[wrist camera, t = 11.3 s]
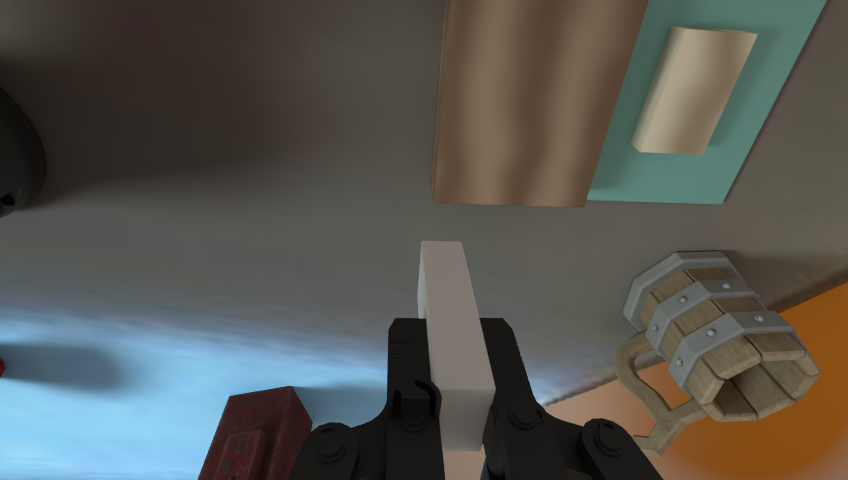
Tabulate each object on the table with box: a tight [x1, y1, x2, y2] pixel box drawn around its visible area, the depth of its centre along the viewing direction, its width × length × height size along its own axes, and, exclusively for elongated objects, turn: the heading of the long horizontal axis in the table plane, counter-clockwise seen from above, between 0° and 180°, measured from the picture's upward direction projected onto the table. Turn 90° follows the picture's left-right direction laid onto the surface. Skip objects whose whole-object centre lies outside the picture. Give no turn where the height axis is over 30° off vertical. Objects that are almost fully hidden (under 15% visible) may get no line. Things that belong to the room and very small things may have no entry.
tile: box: [630, 26, 758, 155], centre depth 36 cm, size 6×10×2 cm, turn 176°
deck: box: [431, 0, 649, 207], centre depth 35 cm, size 14×20×4 cm
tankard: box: [615, 251, 821, 457], centre depth 46 cm, size 20×13×15 cm, turn 135°
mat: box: [587, 0, 827, 204], centre depth 37 cm, size 16×22×1 cm
